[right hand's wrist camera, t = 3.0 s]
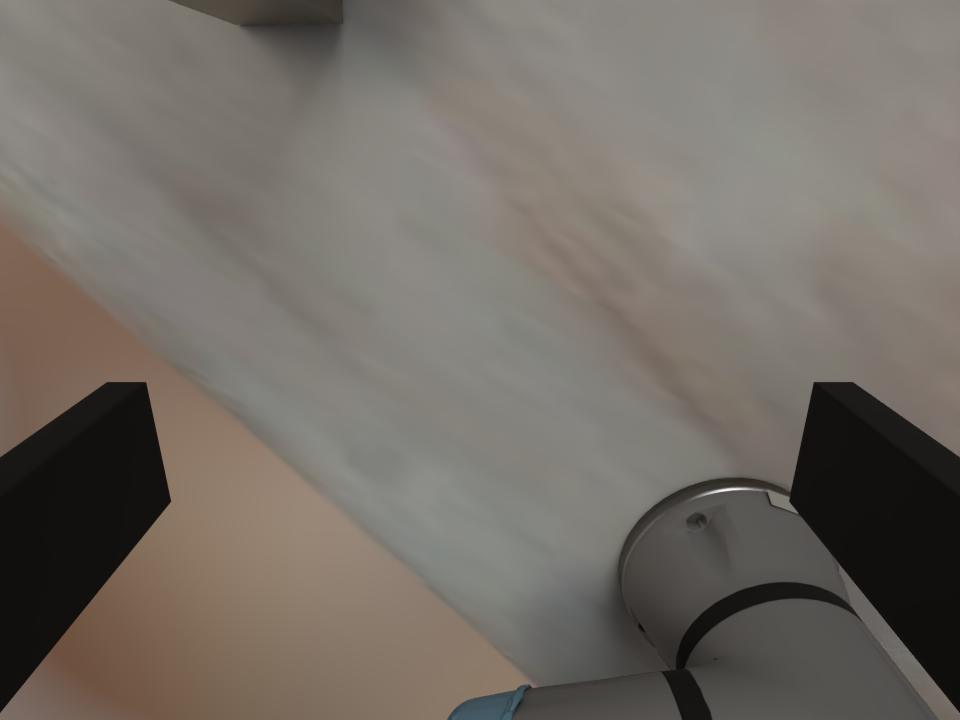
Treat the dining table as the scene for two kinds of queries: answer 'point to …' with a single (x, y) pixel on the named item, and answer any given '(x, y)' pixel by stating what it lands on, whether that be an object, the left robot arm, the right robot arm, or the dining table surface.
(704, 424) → the dining table surface
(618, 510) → the dining table surface
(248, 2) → the box
